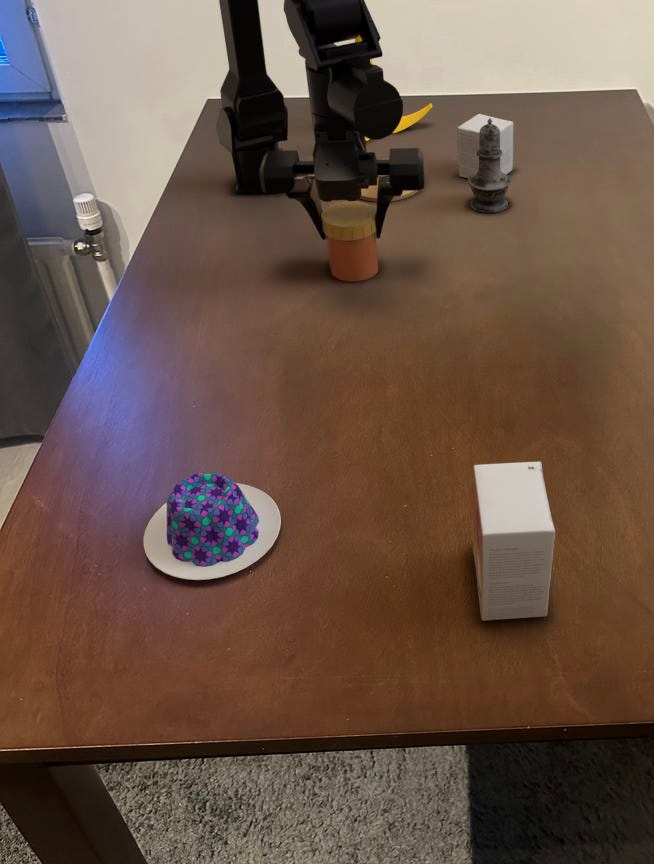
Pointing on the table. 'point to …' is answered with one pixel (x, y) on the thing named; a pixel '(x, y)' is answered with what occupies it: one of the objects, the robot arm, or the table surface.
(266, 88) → the robot arm
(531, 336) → the table surface
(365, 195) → the coaster
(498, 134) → the grey tall turned piece
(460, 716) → the table surface
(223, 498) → the pudding
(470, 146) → the product box
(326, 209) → the jar lid
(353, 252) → the jar
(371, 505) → the table surface
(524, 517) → the small box
